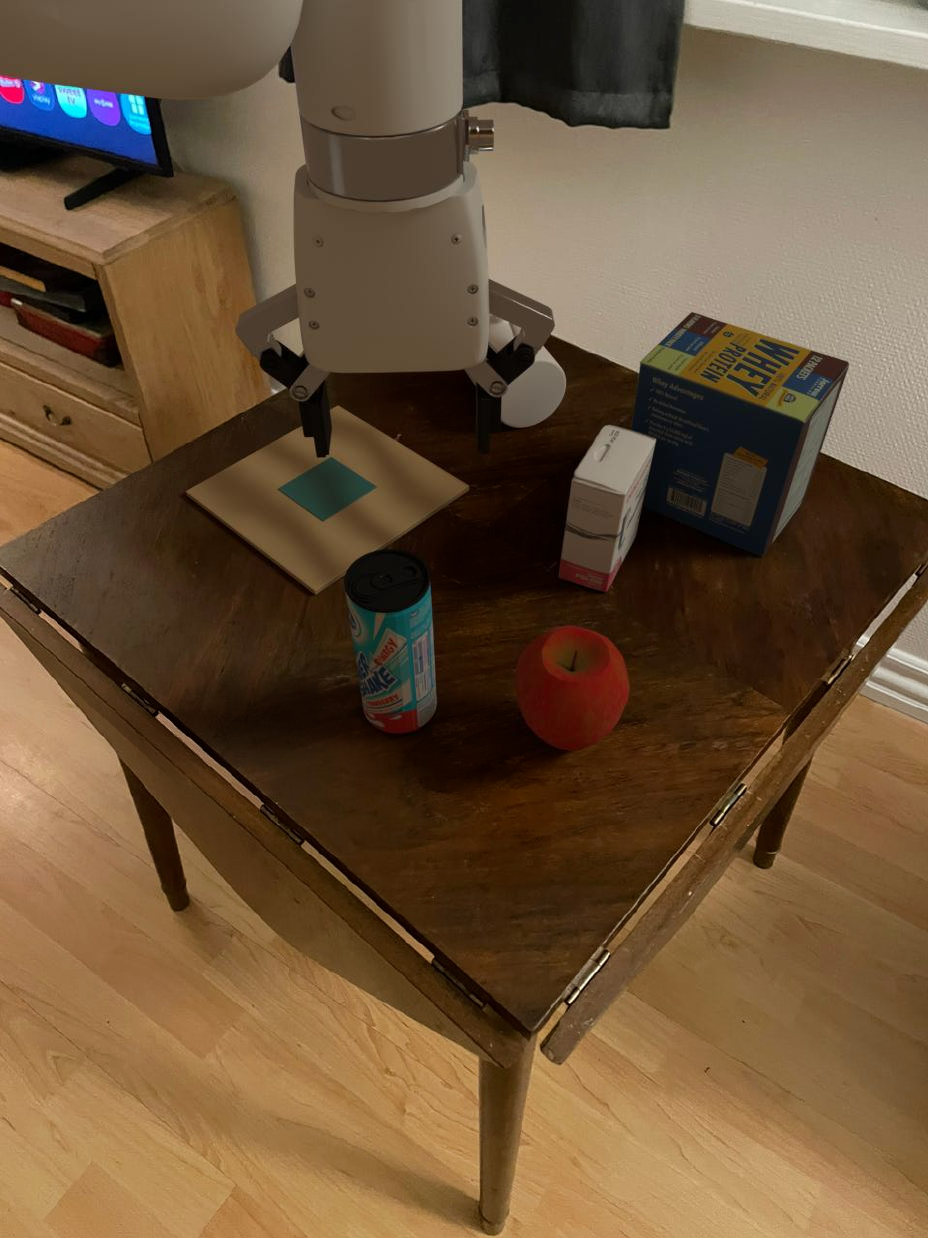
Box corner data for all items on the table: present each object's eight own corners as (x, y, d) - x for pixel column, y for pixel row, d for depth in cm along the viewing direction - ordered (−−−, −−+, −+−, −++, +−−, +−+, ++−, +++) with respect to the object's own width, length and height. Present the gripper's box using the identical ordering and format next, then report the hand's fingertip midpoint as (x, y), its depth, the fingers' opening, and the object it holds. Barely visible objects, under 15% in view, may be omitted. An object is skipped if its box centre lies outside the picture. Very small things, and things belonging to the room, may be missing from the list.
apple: (490, 722, 74) (491, 632, 66) (576, 677, 77) (587, 586, 69) (552, 802, 69) (562, 715, 61) (642, 751, 72) (662, 662, 64)
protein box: (665, 444, 98) (690, 309, 86) (806, 499, 92) (853, 361, 80) (616, 498, 92) (636, 360, 81) (763, 560, 86) (807, 421, 75)
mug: (493, 436, 99) (495, 335, 90) (458, 384, 105) (457, 285, 97) (564, 419, 101) (572, 318, 92) (525, 369, 107) (530, 270, 99)
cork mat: (315, 595, 84) (314, 589, 83) (186, 495, 93) (185, 490, 92) (469, 490, 93) (469, 484, 93) (338, 409, 103) (337, 404, 102)
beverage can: (357, 688, 76) (337, 556, 65) (428, 673, 77) (419, 541, 66) (371, 746, 73) (351, 617, 61) (445, 730, 74) (439, 600, 62)
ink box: (609, 596, 83) (625, 494, 74) (556, 579, 85) (566, 477, 76) (640, 536, 88) (658, 434, 80) (589, 521, 90) (602, 419, 81)
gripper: (558, 114, 47) (540, 402, 59) (212, 121, 46) (268, 408, 59) (574, 178, 42) (550, 478, 54) (186, 185, 41) (253, 484, 54)
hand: (403, 441), depth 57 cm, fingers open, 9 cm apart
